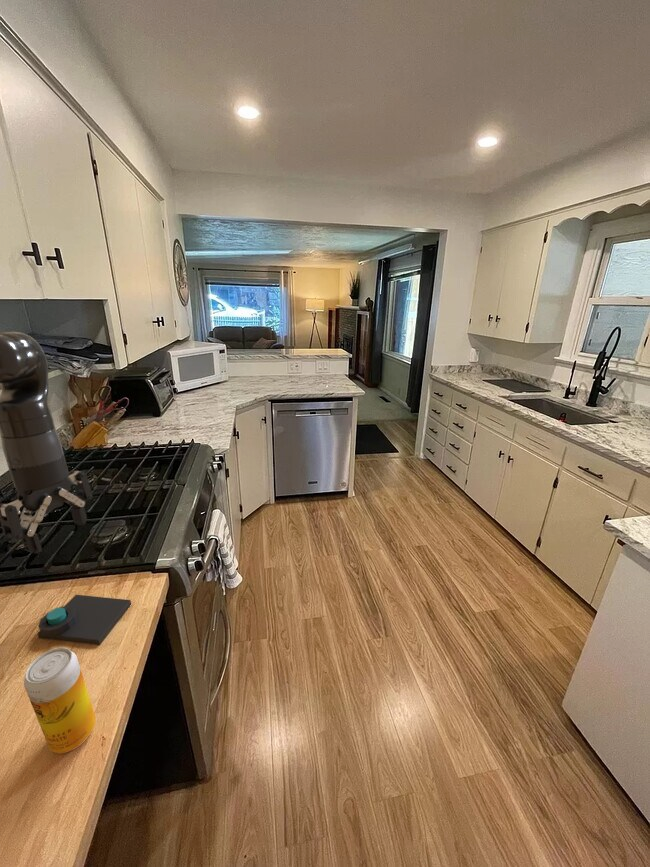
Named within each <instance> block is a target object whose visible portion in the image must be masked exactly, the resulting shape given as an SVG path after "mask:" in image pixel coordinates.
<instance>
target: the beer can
mask: <svg viewBox="0 0 650 867" xmlns="http://www.w3.org/2000/svg"><path fill="white" fill-rule="evenodd" d="M24 676H25V678H24V680H23V686H24V689H25V692H26V694H27V696H28V699H29V701H30V704H31V706H32V709H33V711H34V714H35V717H36V719H37V721H38V724H39V727H40V729H41V731H42V734H43V736H44V739H45V741H46V744H47V746H48V749H49V751H51V752H52V753H53V754H66V753H68V752H72V751H74V750H75V749H77V748H78V747H80V746H81V745H83V743H84V742H85V741H86V740H87V739H88V737H89V736H90V735H91V734H92V732H93V730H94V728H95V725H96V722H97V717H96V714H95V709H94V707H93V704H92V701H91V698H90V693H89V690H88V688H87V684H86V682H85V680H84V675H83V673H82V669H81V666H80V662H79V659H78V657H77V654H76V653H75V652H73V651H72V650H70V648H67V647H56V648H52V649H49V650H47V651H46V652H44V653H42V654H40V655H39V656H37V657H36V658H35V659H34V660H33V661H32V662H31V663H30V665H29V666H28V667H27V669H26V671H25V675H24Z"/></svg>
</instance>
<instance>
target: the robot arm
mask: <svg viewBox="0 0 650 867" xmlns="http://www.w3.org/2000/svg"><path fill="white" fill-rule="evenodd" d="M46 356H47V355H46V354H45V351H44V350H43V347H42V346H41V345H40V343H38V341H37V340H36V339H35V338H33V336H30V335H29V334H26V333H23V332H19V331H4V332H0V385H1V392H0V440H1V448H2V452H3V456H4V458H5V461H6V465H7V467H8V468H7V469H8V470H9V471H8V472H9V474H10V477H11V480H12V483H13V485H14V488H15V490H16V491H17V499H16V500H13V501H11V502H9V503H0V526H1V529H2V530H1V531H2V533H3V536H4V537H5V538H7V539H8V538H9V539H11V540H12V539H13V540H15V541H19V540H21V542H22V545H23V548H24V550H25V551H26V552H28V553H29V552H30V553H33V554H36V555H37V554H39V553H41V552H42V551H43V547H42V545H41V541H40V539H39V536H38V533H36V532H37V528H38V526H39V524H40V523H42V522H43V520H44V518H45V515H47V514H49V513H51V512H53V511H54V510H55V509H58V508H61V507H62V506H64V503H66V504H67V505H70V507H69V509H70V513H71V516H72V520H73V523H74V524H75V525H77V526H80V527H81V526H84V525H86V524H87V519H88V516H87V513H86V512H87V511H86V507H85V505H86V502H87V501H90V500H92V499H93V498H94V497H93V496H94V495H93V492H92V489H91V486H90V482H89V479H88V477H87V473H86V472H85V471H79V470H71V472H70V473H69V467H68V465H67V460H66V457H65V453H64V450H63V445H62V441H61V437H60V436H59V433H58V432H57V429H56V426H55V422H54V418H53V414H52V411H51V408H50V404H49V388H50V387H49V365H48V361H47V357H46ZM72 485H73V487H74V489H75V490H74V491H75V493H76V495H75V494H73V493H71V492H70V490H71V486H72ZM22 507H23V509H22V511H21V508H22ZM33 513H35V514H34V515H32V514H33ZM19 515H20V516H19Z"/></svg>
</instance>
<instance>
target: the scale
mask: <svg viewBox="0 0 650 867" xmlns="http://www.w3.org/2000/svg"><path fill="white" fill-rule="evenodd" d="M131 600H132V599H125V598H124V599H123V598H113V597H104V596H103V597H102V596H95V595H94V596H93V595H85V594H84V595H83V594H75V595H74V596H73V597H71V599H70V600H69V601H68V602H67V603H66V604H65V605H63V606H59V607H58V608H60V607H62V608H64V609H65V612H66V615H67V616H66V619H65V620H64V621H62V622H60V623H59V624H56V625H49V623H48V620H47V614H48V613H49V612H47V613H46V614H45V615H44V616H43V617H42V618H41V619H40V620H39V623H38V630H39V631H38V632H37V637H38V639H43V640H51V641H60V642H70V643H78V644H87V645H88V644H89V645H96V646H101V645H102V644H103V642H104V641H105V639H106V638H107V637H108V636H109V635H110V633H111V632H112V631H113V629H114V628H115V627H116V625H117V624H118V623H119V621H120V620H121V619H122V618H123V617H124V615H125V614H126V612H127V611H128V610H129V609H130V608H131V606H132V605H131V604H132V601H131ZM130 605H131V606H130ZM128 608H129V609H128Z"/></svg>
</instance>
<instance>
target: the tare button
mask: <svg viewBox="0 0 650 867" xmlns="http://www.w3.org/2000/svg"><path fill="white" fill-rule="evenodd" d="M59 607H60V608H59ZM59 607H56V608H53V609H52V610H50V611H48V612H47V613H48V614H47V613H46V614H47V620H48V623H49V625H56V624H59V623H60V622H62V621H64V620H65V619H66V616H67V615H66V612H65V609H64V608H62V607H63V606H59Z"/></svg>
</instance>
